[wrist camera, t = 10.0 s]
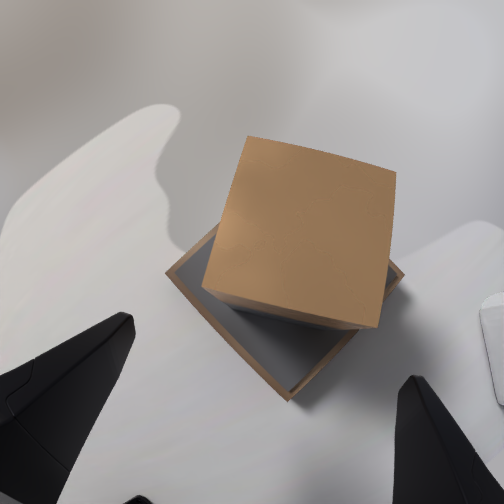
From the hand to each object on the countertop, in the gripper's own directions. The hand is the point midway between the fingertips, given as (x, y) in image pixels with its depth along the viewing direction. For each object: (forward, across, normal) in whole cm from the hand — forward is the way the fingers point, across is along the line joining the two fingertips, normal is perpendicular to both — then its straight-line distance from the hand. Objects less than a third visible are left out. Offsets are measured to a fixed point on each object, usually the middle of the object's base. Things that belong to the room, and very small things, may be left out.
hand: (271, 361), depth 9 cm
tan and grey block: (+10, 0, +3) cm, 10 cm away
